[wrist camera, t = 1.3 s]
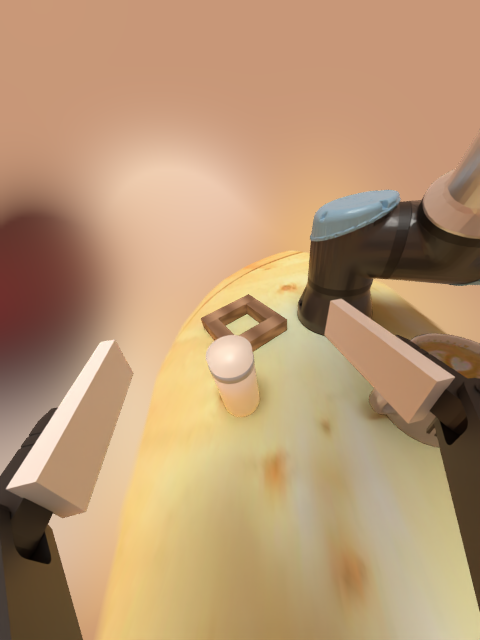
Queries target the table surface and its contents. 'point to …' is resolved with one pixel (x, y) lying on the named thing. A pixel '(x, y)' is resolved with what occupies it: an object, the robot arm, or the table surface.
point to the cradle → (264, 315)
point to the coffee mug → (449, 350)
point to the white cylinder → (234, 374)
